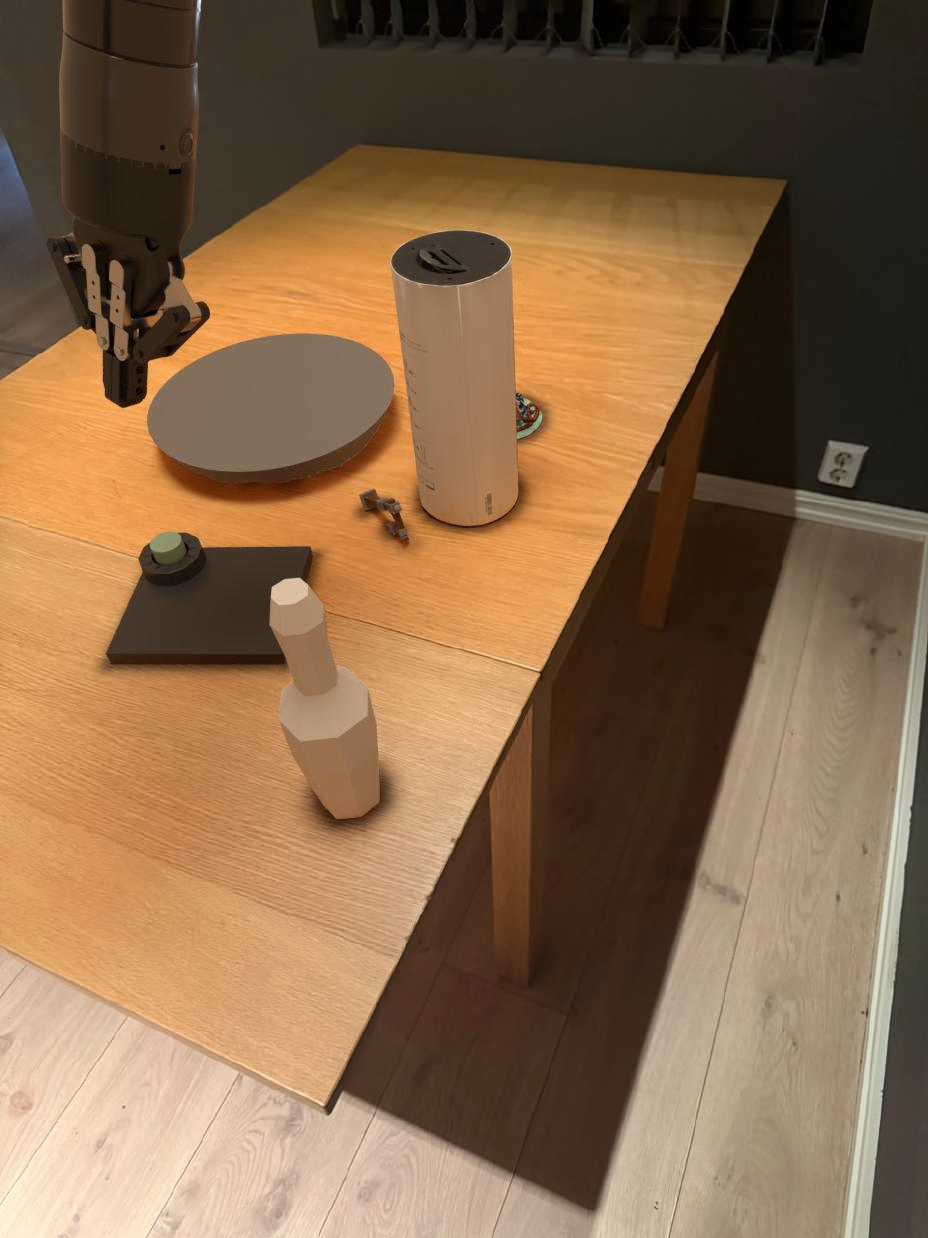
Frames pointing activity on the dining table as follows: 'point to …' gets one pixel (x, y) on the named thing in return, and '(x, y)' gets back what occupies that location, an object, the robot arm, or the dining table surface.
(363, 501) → the jointed metal bracket
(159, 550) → the button
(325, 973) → the dining table surface
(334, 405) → the flat disc
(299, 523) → the dining table surface
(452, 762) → the dining table surface
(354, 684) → the low poly bottle
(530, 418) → the painted miniature figurine
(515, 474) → the speaker
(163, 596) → the scale
